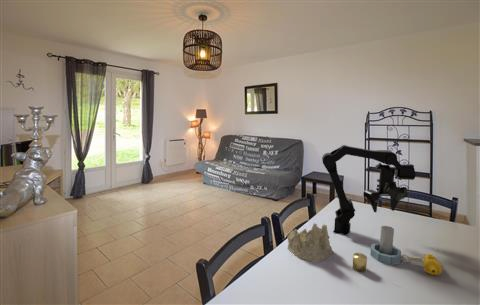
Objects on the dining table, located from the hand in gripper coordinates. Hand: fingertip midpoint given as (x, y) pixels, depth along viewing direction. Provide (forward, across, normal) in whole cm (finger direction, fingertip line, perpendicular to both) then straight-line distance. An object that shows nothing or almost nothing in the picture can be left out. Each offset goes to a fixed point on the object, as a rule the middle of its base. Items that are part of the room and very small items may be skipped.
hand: (383, 211), depth 117 cm
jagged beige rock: (+12, -39, -5) cm, 41 cm away
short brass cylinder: (+12, -27, -20) cm, 36 cm away
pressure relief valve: (+12, -4, -24) cm, 28 cm away
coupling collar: (+12, -11, -15) cm, 22 cm away
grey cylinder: (+12, -11, -15) cm, 22 cm away
